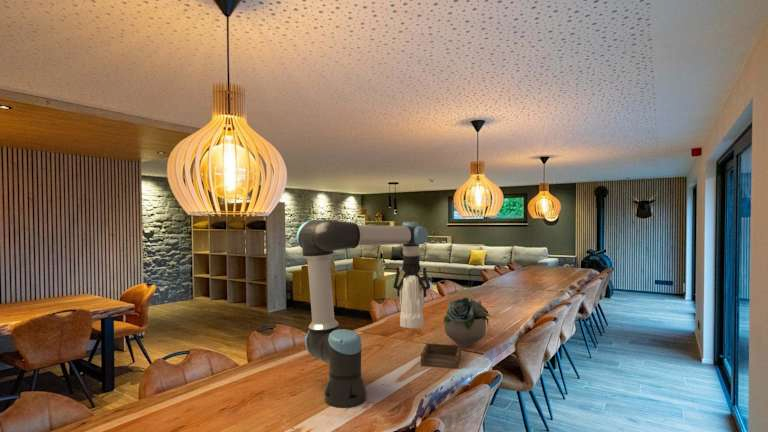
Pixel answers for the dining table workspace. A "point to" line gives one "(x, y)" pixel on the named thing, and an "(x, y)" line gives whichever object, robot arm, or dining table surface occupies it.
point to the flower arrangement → (466, 321)
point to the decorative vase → (411, 303)
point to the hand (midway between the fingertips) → (412, 304)
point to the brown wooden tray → (441, 356)
